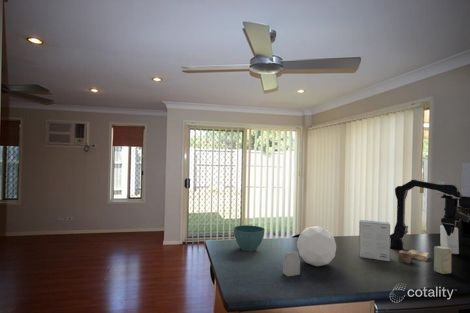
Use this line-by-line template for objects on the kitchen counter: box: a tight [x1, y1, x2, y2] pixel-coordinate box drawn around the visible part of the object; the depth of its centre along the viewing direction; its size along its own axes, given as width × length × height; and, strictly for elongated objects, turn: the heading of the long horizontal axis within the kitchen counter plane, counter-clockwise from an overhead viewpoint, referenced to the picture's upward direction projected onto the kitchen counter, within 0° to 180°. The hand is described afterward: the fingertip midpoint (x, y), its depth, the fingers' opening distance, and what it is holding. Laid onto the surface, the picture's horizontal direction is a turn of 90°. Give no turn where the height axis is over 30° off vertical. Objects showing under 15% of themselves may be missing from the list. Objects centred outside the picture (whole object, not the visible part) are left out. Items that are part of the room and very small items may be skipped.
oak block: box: [407, 249, 430, 262], centre depth 160 cm, size 9×9×3 cm
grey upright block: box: [282, 250, 301, 277], centre depth 129 cm, size 4×7×10 cm, turn 115°
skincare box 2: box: [433, 245, 452, 275], centre depth 138 cm, size 6×4×12 cm
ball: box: [296, 225, 337, 267], centre depth 144 cm, size 19×20×20 cm
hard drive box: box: [358, 219, 391, 262], centre depth 158 cm, size 16×8×20 cm, turn 65°
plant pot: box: [233, 224, 265, 252], centre depth 164 cm, size 18×18×12 cm
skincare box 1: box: [439, 225, 460, 255], centre depth 173 cm, size 8×7×16 cm
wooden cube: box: [398, 249, 412, 265], centre depth 152 cm, size 5×5×5 cm
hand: (450, 234), depth 158 cm, fingers open, 9 cm apart
